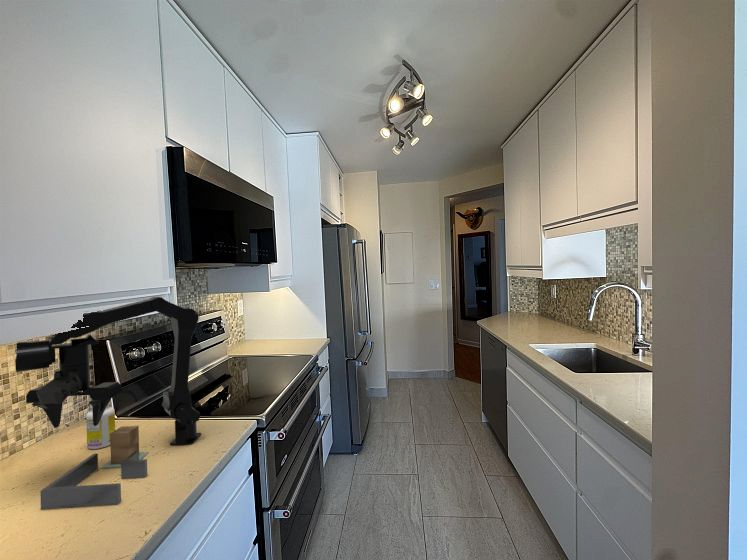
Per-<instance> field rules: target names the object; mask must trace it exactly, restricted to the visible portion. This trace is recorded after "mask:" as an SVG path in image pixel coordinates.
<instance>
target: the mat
mask: <svg viewBox="0 0 747 560" xmlns="http://www.w3.org/2000/svg"><path fill="white" fill-rule="evenodd" d="M146 454H147V455H148V454H149V451H145V452H142V451H139V460H141V459H144V458H145V457H146V456H147V455H146ZM145 455H146V456H145ZM144 456H145V457H144ZM143 457H144V458H143ZM117 468H118V469H119V468H120V469H121V464H111V459H109V460H108V461H107V462H105V463H104V464H103V465H102V466H100V469H104V470H105V469H117Z"/></svg>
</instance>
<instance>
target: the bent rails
mask: <svg viewBox="0 0 747 560" xmlns="http://www.w3.org/2000/svg"><path fill="white" fill-rule="evenodd" d="M139 453H140V450H139V451H134V452H133V453H132V454H131V455H130V456H128V457H127V458H126V459H125V460H124V461H122V462H121V468H120V479H121V480H124V479H125V480H127V479H130V480H131V479H144V478H146V477H147V476H148V459H146V458H145V459H144V458H142V459H141V460H139ZM97 470H99V453H92V454H91V455H89V456H88V457H86V459H84V460H82V461H81V462H80V463H78V464H77V465H75V466H74V467H72V468H71V469H70V470H68V471H67V472H65V473H64V474H62V475H60V476H59V477H58V478H56V479H55V480H53V481H52V482H51V483H49V484H48V485H46V486H45V487H44V488H42V489H41V490H40V492H39V493H40V494H39V495H40V510H41V511H42V510H55V509H58V510H59V509H71V508H72V509H73V508H86V507H98V506H99V507H100V506H112V505H113V506H114V505H115V506H118V505H119V504H120V503H121V502H122V483H104V484H88V485H85V484H83V485H79V484H81V483H82V482H83V481H84V480H86V479H87V478H88V477H90V476H91V475H92V474H93V473H95V472H96V471H97Z"/></svg>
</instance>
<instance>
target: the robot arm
mask: <svg viewBox="0 0 747 560" xmlns="http://www.w3.org/2000/svg"><path fill="white" fill-rule="evenodd" d="M102 310H103V311H101V310H96V311H97V312H91V313H84V314H83V317H84V318H83V322H82V321H81V320H78V322H77V323H75V324H73V326H72V327H71V328H75V327H77V328H79V329H76V330H71V331H68V332H63V333H58V334H55V335H52V334H50V336H49V337H48V338H47V339H41V340H36V341H35V340H34V341H33V340H32V341H18V342H16V355H15V363H14V364H15V365H14V366H15V373H22V372H29V371H36V370H44V369H48V368H49V369H50V366H51V365H53V364H55V363H56V349H58V368H59V369H57V370H55V371H54V374H53V379H52V380H51V381H49V382H47V383H46V384H45V385H41V386H38V387H36V388H33V389H30V390H29V391H28V392H27V393H26V394H25V403H26V404H31V405H32V406H33V407H37V408H40V409H42V410H43V411H44V413H45V414H46V416H47V418H48V419H49V422H50V424H51V425H52V427H53V428H54V429H57V428H58V427H60V424H61V419H62V414H63V413H62V412H63V404H64V403H63V402H65V401H66V399H67V398H68V397H75V396H77V397H78V396H79V397H80V396H89V398H90V399H91V400H90V401H88V403H89V405H90V404H91V405H92V407H93V425H94V426H96V425H98V424H99V421H100V419H101V417H102V415H103V413H104V411H105V409H106V407H107V405H108V403H109V402H110V403H111V400H112V398H115V397H116V396H117V395H118V394H120V393H122V392H123V391H122V385H121V383H120V382H119V381H113V382H112V381H108V382H106V381H105V382H102V383H100V384H98V385H96V386H93V385H94V384H95V381H94V380H91V374H90V373H91V372H90V371H91V370H93V369H94V364H91V363H90V362H91V361H90V346H91V345H97V344H99V340H98V339H97V338H94V336H93V335H92V334H89V333H93V332H95V331H96V330H97V331H98V330H99V329H101V328H102V327H104V326H107V325H110V324H114V323H117V322H121V321H123V320H128V319H132V318H136V317H139V316H142V315H147V314H151V313H155V312H157V313H159V314H161V315H163V316H165V317H167V318H169V319H170V322H171V328H172V331H173V332H172V333H173V336H174V343H173V344H174V345H173V359H172V368H171V369H172V372H171V382H170V383H171V384H170V387H169V389H168V391H163V393H162V396H163V397H162V398H163V400H162V403H161V406H162V407H163V408H164V411H165V412H166V413H167V414H168V415H169V416H170V417H171V418H173V419H175V420H174V439H173V440H172V441H171V442H169V445H170V446H178V445H192V444H194V443H195V442H196V441H197V440H198V439H199V438H200V436H201V435H202V432H197V431H198V430H197V422H198V421H199V420H200V417H201V413H200V412H199V411H198V409H197V410H196V408H194V407H193V405H192V404H193V403H192V395H191V392H190V389H189V375H190V363H191V362H190V360H191V359H190V358H191V347H192V344H191V343H192V338H193V336H194V333H195V332H196V330H197V325H198V322H199V314H198V312H197V311H196V310H195V309H193V308H189V307H183V306H179V305H177V304H175V303H173V302H171V301H168V300H166V299H164V298H163V297H161V296H152V297H150V298H148V299H147V298H146V299H143V300H139V301H135V302H132V303H131V302H129V303H126V304H121V305H119V306H115V307H110V308H106V309H102ZM86 326H89V327H86ZM81 327H85V328H81ZM87 334H88V335H87ZM85 335H87V336H85ZM83 336H85V337H83ZM80 337H82V338H80ZM68 340H70V342H67V341H68ZM65 342H67V343H65Z"/></svg>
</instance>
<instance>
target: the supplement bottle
mask: <svg viewBox="0 0 747 560" xmlns="http://www.w3.org/2000/svg"><path fill="white" fill-rule="evenodd" d="M110 404H111V401H110V402H109V403H108V405H107V407H106V409H105V411H104V413H103V415H102V417H101V419H100V421H99V424H98V425H96V426H94V425H93V407H92V405H91V404H90V403H89V408H90V410H89V411H88V412H87V414H86V415H85V422H86V423H85V424H86V425H85V427H86V446H87V448H88V449H90V450H98V449H104V448H106V447H108V446H110V434H111V433H112V432H114V431H115V430H116V412H115V408H114V407H112V406H110Z"/></svg>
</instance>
